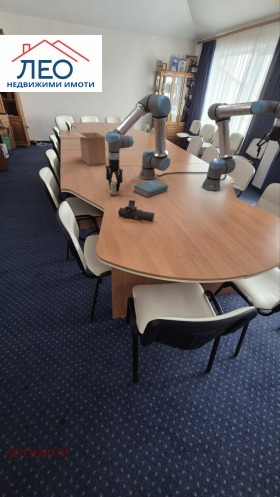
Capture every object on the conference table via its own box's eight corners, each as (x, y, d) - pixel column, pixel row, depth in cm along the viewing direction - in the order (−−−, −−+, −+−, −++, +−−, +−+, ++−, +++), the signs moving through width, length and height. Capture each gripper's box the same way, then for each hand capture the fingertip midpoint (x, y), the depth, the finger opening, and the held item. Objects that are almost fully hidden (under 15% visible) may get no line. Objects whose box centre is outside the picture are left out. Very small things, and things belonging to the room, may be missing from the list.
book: (152, 185, 190) (153, 179, 187) (167, 191, 181) (167, 185, 178) (133, 191, 176) (133, 185, 173) (147, 198, 167) (148, 191, 164)
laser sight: (151, 225, 135) (153, 210, 129) (116, 219, 138) (116, 205, 132) (154, 218, 142) (155, 203, 137) (120, 212, 145) (120, 198, 139)
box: (116, 165, 229) (116, 136, 213) (83, 168, 214) (80, 137, 198) (102, 154, 259) (101, 128, 243) (71, 156, 244) (68, 129, 228)
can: (119, 192, 169) (119, 182, 164) (115, 195, 165) (115, 184, 160) (112, 191, 171) (112, 180, 166) (109, 193, 166) (109, 183, 162)
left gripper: (100, 157, 154) (101, 189, 167) (122, 162, 147) (121, 195, 160) (106, 155, 159) (107, 186, 173) (128, 160, 152) (127, 192, 166)
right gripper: (258, 123, 153) (248, 155, 166) (298, 129, 141) (284, 163, 154) (261, 123, 158) (251, 154, 171) (300, 128, 146) (286, 161, 159)
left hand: (114, 190), depth 167 cm, fingers closed on can, 6 cm apart
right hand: (266, 158), depth 162 cm, fingers open, 13 cm apart
